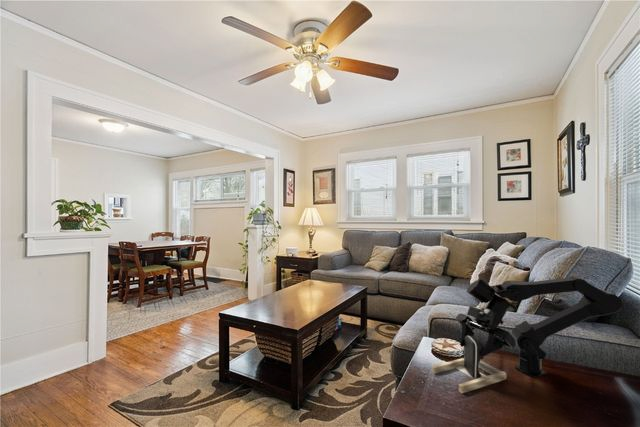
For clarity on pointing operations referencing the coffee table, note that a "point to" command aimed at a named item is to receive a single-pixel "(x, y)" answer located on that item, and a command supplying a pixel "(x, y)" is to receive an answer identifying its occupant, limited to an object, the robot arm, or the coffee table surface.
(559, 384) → the coffee table surface
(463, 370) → the guide channel
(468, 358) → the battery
